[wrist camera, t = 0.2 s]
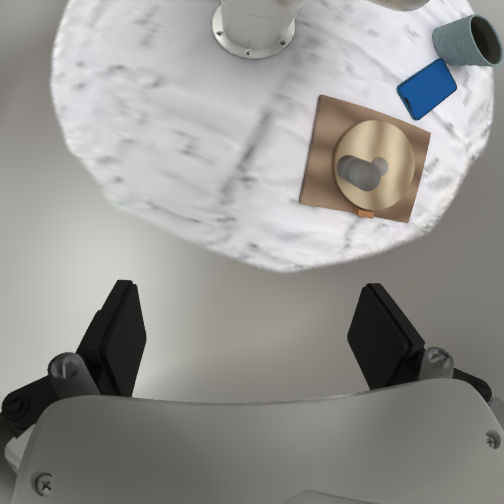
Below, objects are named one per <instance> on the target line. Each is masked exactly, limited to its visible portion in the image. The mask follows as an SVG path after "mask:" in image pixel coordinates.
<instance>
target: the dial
mask: <svg viewBox="0 0 504 504" xmlns="http://www.w3.org/2000/svg"><path fill="white" fill-rule="evenodd" d="M414 170H415V159H414V153H413V149H412V147H411V144H410V142H409V140H408V139H407V137H406V136H405V135H404V133H403V132H402V131H401V130H400V129H398V128H397V127H396V126H394V125H392V124H390V123H388V122H384V121H377V120H367V121H362V122H359V123H357V124H355V125H353V126H351V127H350V128H349V129H348V130H346V131H345V132H344V134H343V135H342V136H341V138H340V139H339V141H338V143H337V145H336V148H335V151H334V155H333V174H334V178H335V181H336V184H337V185H338V187H339V189H340V191H341V192H342V193H343V194H344V196H345V197H346V198H348V199H349V200H350V201H351V202H353V203H354V204H356V205H357V206H359V207H361V208H364V209H367V210H381V209H385V208H388V207H390V206H392V205H394V204H395V203H397V202H398V201H399V200H400V199H401V198H402V197H403V196H404V195H405V193H406V192H407V190H408V189H409V187H410V185H411V182H412V179H413V176H414Z"/></svg>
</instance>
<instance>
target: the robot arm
mask: <svg viewBox="0 0 504 504" xmlns="http://www.w3.org/2000/svg"><path fill="white" fill-rule="evenodd" d="M307 1H308V0H221V4H220V5H219V6H218V7H217V9H216V11H215V12H214V15H213V18H212V30H213V34H214V36H215V38H216V40H217V42H218V43H219V44H220V45H221V47H223V48H224V49H225V50H226V51H228V52H230V53H231V54H233V55H236V56H238V57H241V58H247V59H263V58H267V57H271V56H273V55H275V54H278V53H279V52H281V51H282V50H283V49H285V48H286V47H287V46H288V44H289V43H290V42H291V40H292V38H293V36H294V33H295V28H296V27H295V17H296V16H297V15H298V13H299V12H300V11H301V9H302V8H303V6H304V5H305V4H306V2H307ZM366 1H369V2H372V3H374V4H377V5H380V6H382V7H385V8H388V9H391V10H395V11H403V12H406V11H413V10H416V9H418V8H420V7H422V6H424V5H425V4H426V3H427V2H428V1H429V0H366ZM218 34H221V36H218ZM280 43H283V45H281V44H280ZM246 53H250V55H247V54H246ZM347 338H348V343H349V345H350V347H351V349H352V351H353V353H354V355H355V358H356V360H357V362H358V364H359V366H360V368H361V370H362V372H363V375H364V377H365V379H366V381H367V384H368V386H369V388H370V390H369V391H363V392H357V393H350V394H344V395H336V396H329V397H321V398H311V399H301V400H289V401H273V402H248V403H206V402H205V403H204V402H183V401H167V400H154V399H143V398H133V397H132V393H133V389H134V385H135V381H136V377H137V373H138V370H139V366H140V362H141V359H142V355H143V351H144V348H145V344H146V331H145V326H144V322H143V317H142V311H141V306H140V301H139V295H138V289H137V285H136V284H133V282H132V281H131V280H117V282H116V284H115V285H114V287H113V289H112V291H111V293H110V294H109V296H108V298H107V299H106V301H105V303H104V305H103V307H102V308H101V310H98V311H97V313H96V314H95V316H94V318H93V320H92V322H91V323H90V325H89V327H88V329H87V331H86V333H85V335H84V337H83V339H82V341H81V343H80V345H79V347H78V349H77V351H76V353H72V352H65V353H61V354H59V355H57V356H55V357H54V358H53V359H52V360H51V361H50V363H49V365H48V369H47V371H48V375H47V376H45V377H43V378H41V379H39V380H37V381H34V382H32V383H30V384H28V385H26V386H24V387H22V388H20V389H17V390H15V391H13V392H11V393H9V394H8V395H7V396H6V397H5V399H4V401H3V402H2V412H1V413H0V504H504V401H502V400H501V399H500V398H498V397H497V396H495V395H494V397H492V392H491V389H490V387H489V386H488V384H487V383H486V382H485V381H483V380H481V379H479V378H476V377H474V376H472V375H470V374H467V373H465V372H462V371H460V370H458V369H455V368H454V362H453V358H452V356H451V355H450V354H449V353H448V352H447V351H446V350H444V349H442V348H439V347H429V348H427V349H426V350H425V348H424V347H423V346H424V344H425V342H424V340H423V339H422V338H421V336H420V335H419V333H418V332H417V331H416V329H415V328H414V327H413V326H412V324H411V322H410V321H409V320H408V318H407V317H406V316H405V315H404V313H403V312H402V311H401V309H400V308H399V307H398V305H397V304H396V303H395V301H394V300H393V299H392V298H391V296H390V295H389V294H388V292H387V291H386V290H385V289H384V287H383V286H382V285H381V284H380V283H369V284H367V285H366V286H365V287H363V288H362V291H361V294H360V297H359V301H358V304H357V307H356V310H355V314H354V316H353V320H352V323H351V326H350V329H349V332H348V336H347Z"/></svg>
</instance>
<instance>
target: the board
mask: <svg viewBox="0 0 504 504" xmlns="http://www.w3.org/2000/svg"><path fill="white" fill-rule="evenodd" d="M367 120H377V121H384V122H388V123H390V124H392V125H394V126H396V127H397V128H398V129H400V130H401V131H402V132H403V133H404V135H405V136H406V137H407V139H408V140H409V142H410V144H411V147H412V149H413V153H414V159H415V170H414V176H413V179H412V182H411V185H410V187H409V189H408V190H407V192H406V193H405V195H404V196H403V197H402V198H401V199H400V200H399V201H398V202H397V203H395V204H394V205H392V206H390V207H388V208H385V209H381V210H367V209H364V208H361V207H359V206H357V205H356V204H354V203H353V202H351V201H350V200H349V199H348V198H346V197H345V196H344V194H343V193H342V192H341V191H340V189H339V187H338V185H337V184H336V181H335V178H334V174H333V155H334V151H335V148H336V145H337V143H338V141H339V139H340V138H341V136H342V135H343V134H344V132H345V131H346V130H348V129H349V128H350V127H351V126H353V125H355V124H357V123H359V122H362V121H367ZM430 135H431V133H430V132H427V131H425V130H423V129H421V128H418V127H416V126H414V125H411V124H409V123H406V122H404V121H401V120H399V119H396V118H393V117H391V116H388V115H385V114H383V113H380V112H377V111H374V110H371V109H368V108H365V107H362V106H359V105H356V104H353V103H349V102H346V101H343V100H339V99H336V98H332V97H328V96H325V95H319V100H318V106H317V112H316V117H315V123H314V128H313V134H312V139H311V144H310V149H309V154H308V159H307V165H306V170H305V174H304V179H303V184H302V189H301V194H300V199H299V202H300V203H301V204H306V205H312V206H318V207H324V208H330V209H336V210H342V211H347V212H353V213H355V214H356V215H357V216H361V217H367V218H372V219H373V216H374V217H380V218H385V219H390V220H395V221H399V222H404V223H408V221H409V218H410V215H411V212H412V208H413V205H414V202H415V198H416V195H417V191H418V187H419V183H420V180H421V176H422V172H423V167H424V163H425V159H426V154H427V150H428V145H429V140H430Z"/></svg>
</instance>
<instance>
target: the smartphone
mask: <svg viewBox="0 0 504 504" xmlns="http://www.w3.org/2000/svg"><path fill="white" fill-rule="evenodd" d="M456 90H457V85H456V83H455V81H454V79H453V77H452V75H451V73H450V71H449V69H448V68H447V66H446V64H445V62H444V61H443V59H441V58H439V59H437V60H435V61H434V62H432V63H431V64H429V65H428V66H426V67H425V68H423V69H422V70H420V71H419V72H417V73H416V74H414V75H413V76H411V77H410V78H408V79H407V80H405V81H404V82H402V83H401V84H400V85H398V86H397V92H398V94H399V96H400V97H401V99H402V101H403V102H404V104H405V106H406V107H407V109H408V111H409V113H410V115H411V116H412V118H413V119H414V120H420V119H421V118H422V117H424V116H425V115H426V114H427V113H429V112H430V111H431V110H432V109H434V108H435V107H436V106H437V105H438V104H440V103H441V102H442V101H443V100H445V99H446V98H447V97H448V96H450V95H451V94H452V93H453V92H455V91H456Z"/></svg>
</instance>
